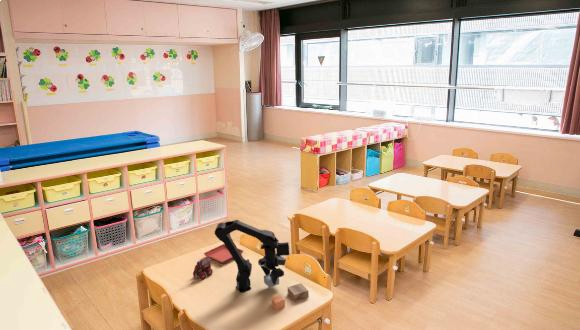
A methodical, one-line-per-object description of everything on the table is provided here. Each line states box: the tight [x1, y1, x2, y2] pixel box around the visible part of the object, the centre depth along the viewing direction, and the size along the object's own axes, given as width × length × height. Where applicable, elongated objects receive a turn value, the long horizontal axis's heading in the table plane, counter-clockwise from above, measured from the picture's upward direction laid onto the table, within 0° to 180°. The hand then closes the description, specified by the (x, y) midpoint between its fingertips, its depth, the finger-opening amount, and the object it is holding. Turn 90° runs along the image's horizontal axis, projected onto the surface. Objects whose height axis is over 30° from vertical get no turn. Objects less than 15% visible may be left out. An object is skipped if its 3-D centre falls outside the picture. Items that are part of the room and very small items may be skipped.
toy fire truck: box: [192, 256, 214, 281], centre depth 234 cm, size 7×12×10 cm, turn 143°
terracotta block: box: [270, 294, 286, 311], centre depth 205 cm, size 5×5×4 cm
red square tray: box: [203, 243, 244, 265], centre depth 256 cm, size 18×18×3 cm
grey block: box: [263, 273, 280, 288], centre depth 220 cm, size 6×6×4 cm
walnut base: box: [287, 282, 309, 302], centre depth 213 cm, size 8×8×4 cm
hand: (271, 281), depth 220 cm, fingers closed on grey block, 6 cm apart
